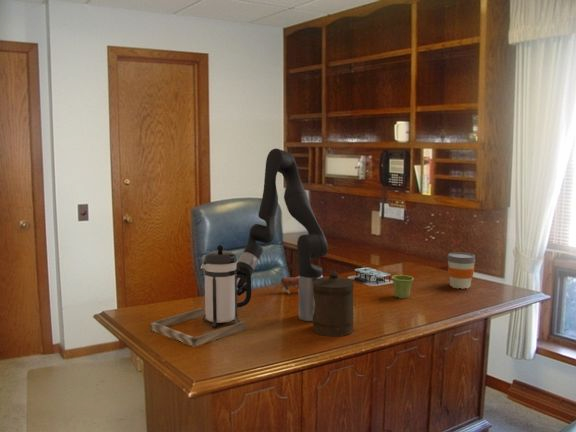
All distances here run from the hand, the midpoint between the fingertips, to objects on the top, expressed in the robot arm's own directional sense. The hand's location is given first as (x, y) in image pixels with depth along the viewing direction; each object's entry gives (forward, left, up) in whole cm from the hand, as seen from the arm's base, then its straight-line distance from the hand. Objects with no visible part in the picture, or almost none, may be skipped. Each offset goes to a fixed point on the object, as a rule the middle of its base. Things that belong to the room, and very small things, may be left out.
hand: (227, 302), depth 226 cm
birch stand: (-3, +17, -6) cm, 18 cm away
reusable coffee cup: (-47, -105, -6) cm, 115 cm away
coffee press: (-3, +4, -6) cm, 8 cm away
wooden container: (-40, -16, -6) cm, 43 cm away
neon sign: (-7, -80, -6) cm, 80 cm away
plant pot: (-36, -71, -6) cm, 80 cm away
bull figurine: (+3, -44, -6) cm, 45 cm away
